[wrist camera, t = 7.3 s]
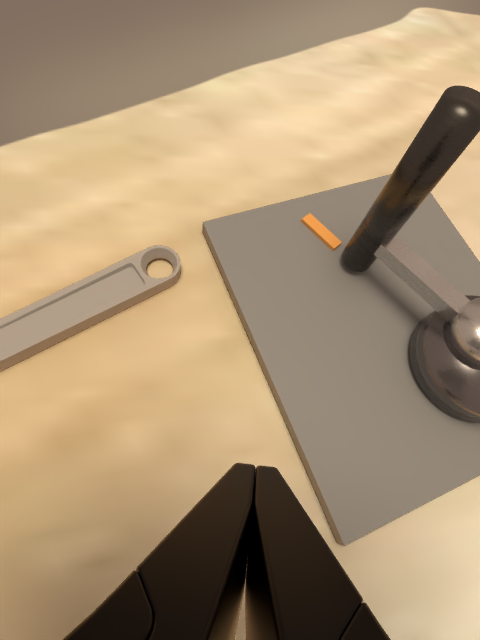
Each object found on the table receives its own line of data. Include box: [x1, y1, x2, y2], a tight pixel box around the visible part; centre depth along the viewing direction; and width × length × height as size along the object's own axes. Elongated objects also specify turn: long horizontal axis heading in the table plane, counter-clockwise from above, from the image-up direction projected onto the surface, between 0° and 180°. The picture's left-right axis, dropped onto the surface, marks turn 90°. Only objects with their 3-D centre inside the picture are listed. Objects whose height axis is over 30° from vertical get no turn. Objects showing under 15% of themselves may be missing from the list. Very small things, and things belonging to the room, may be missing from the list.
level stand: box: [202, 174, 480, 546], centre depth 25 cm, size 20×17×1 cm
